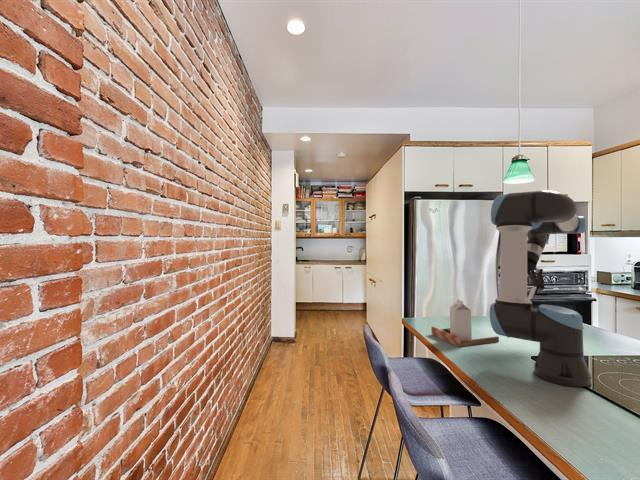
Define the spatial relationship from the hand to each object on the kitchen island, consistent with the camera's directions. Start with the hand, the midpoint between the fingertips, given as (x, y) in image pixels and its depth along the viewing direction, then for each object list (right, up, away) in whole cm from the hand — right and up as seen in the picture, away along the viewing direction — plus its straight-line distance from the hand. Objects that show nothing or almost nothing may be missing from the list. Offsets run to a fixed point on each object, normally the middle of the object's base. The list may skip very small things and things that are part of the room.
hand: (514, 291), depth 140 cm
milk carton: (-24, -24, +1) cm, 34 cm away
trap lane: (-20, -23, +6) cm, 31 cm away
